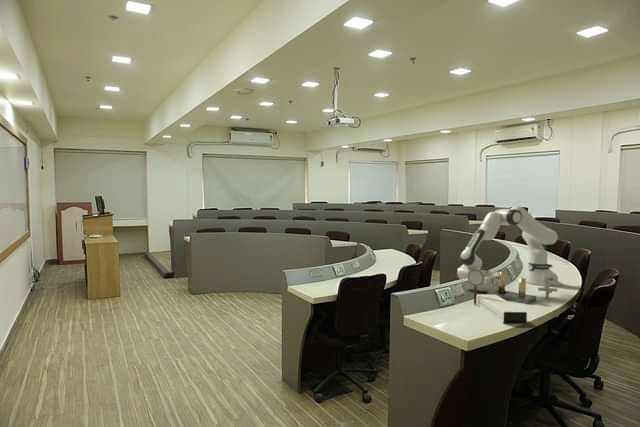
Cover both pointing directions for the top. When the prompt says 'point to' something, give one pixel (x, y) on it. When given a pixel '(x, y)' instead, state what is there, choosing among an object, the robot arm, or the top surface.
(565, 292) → the top surface
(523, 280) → the bolt plate
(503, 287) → the brass pin
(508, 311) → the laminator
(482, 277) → the magnifying glass
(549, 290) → the pipe connector
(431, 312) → the top surface
